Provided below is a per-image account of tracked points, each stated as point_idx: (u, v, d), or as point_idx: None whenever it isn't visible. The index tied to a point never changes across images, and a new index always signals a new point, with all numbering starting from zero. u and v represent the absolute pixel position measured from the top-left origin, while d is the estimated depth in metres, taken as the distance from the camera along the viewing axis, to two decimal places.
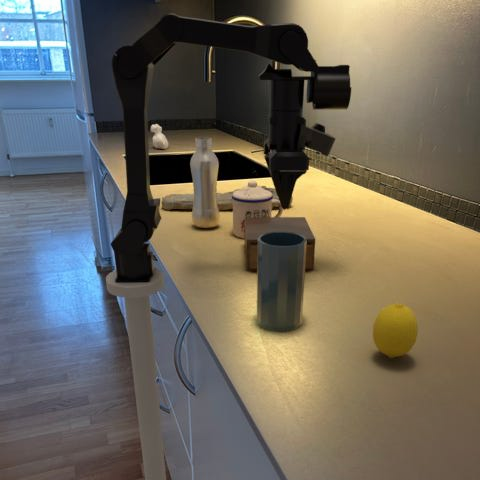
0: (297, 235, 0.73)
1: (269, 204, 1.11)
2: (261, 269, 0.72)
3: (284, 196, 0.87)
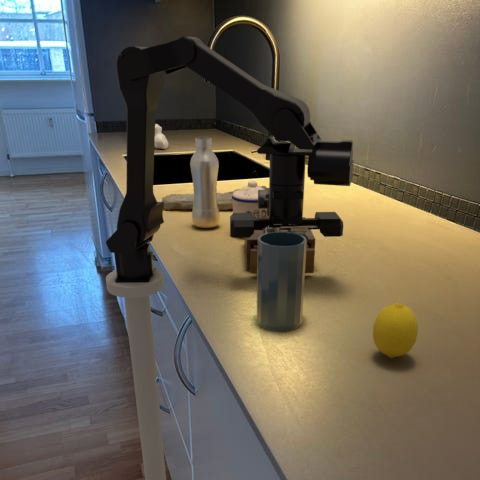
0: (297, 235, 0.73)
1: None
2: (261, 269, 0.72)
3: None
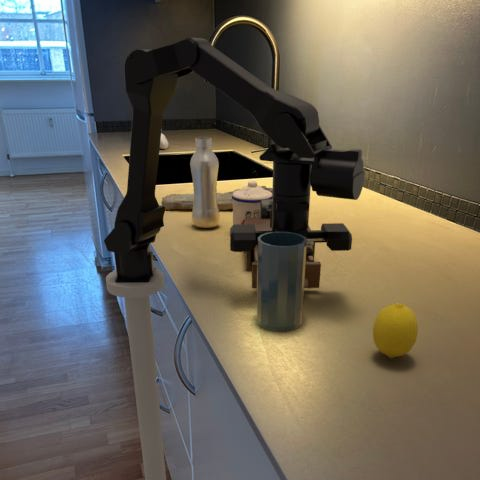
0: (297, 235, 0.73)
1: None
2: (261, 269, 0.72)
3: None
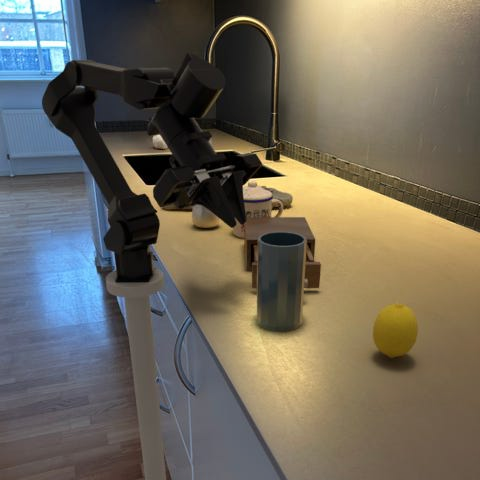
0: (297, 235, 0.73)
1: (269, 204, 1.11)
2: (261, 269, 0.72)
3: None
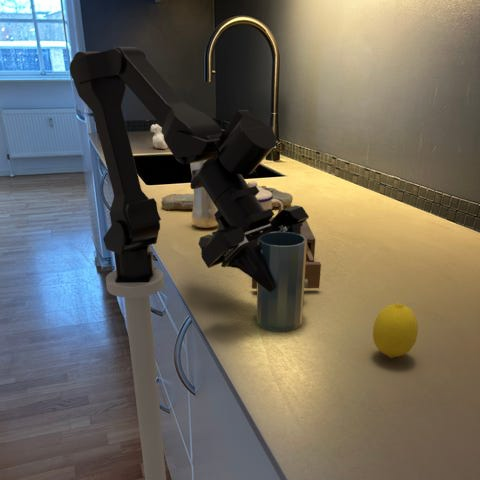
0: (297, 235, 0.73)
1: (269, 204, 1.11)
2: None
3: None
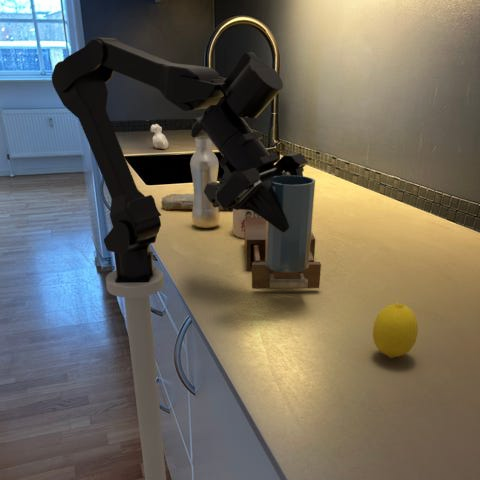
0: (303, 177, 0.76)
1: None
2: None
3: None
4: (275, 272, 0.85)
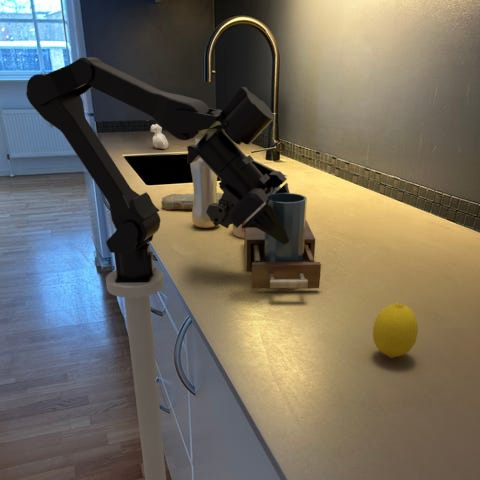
0: (291, 194, 0.87)
1: None
2: None
3: None
4: (275, 272, 0.85)
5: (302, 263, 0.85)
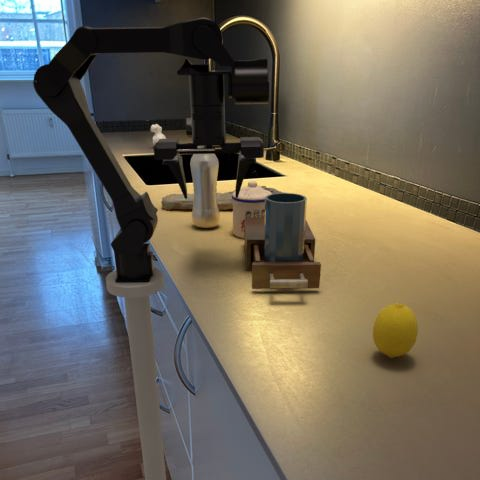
0: (291, 194, 0.87)
1: None
2: (275, 225, 0.84)
3: None
4: (275, 272, 0.85)
5: (302, 263, 0.85)
